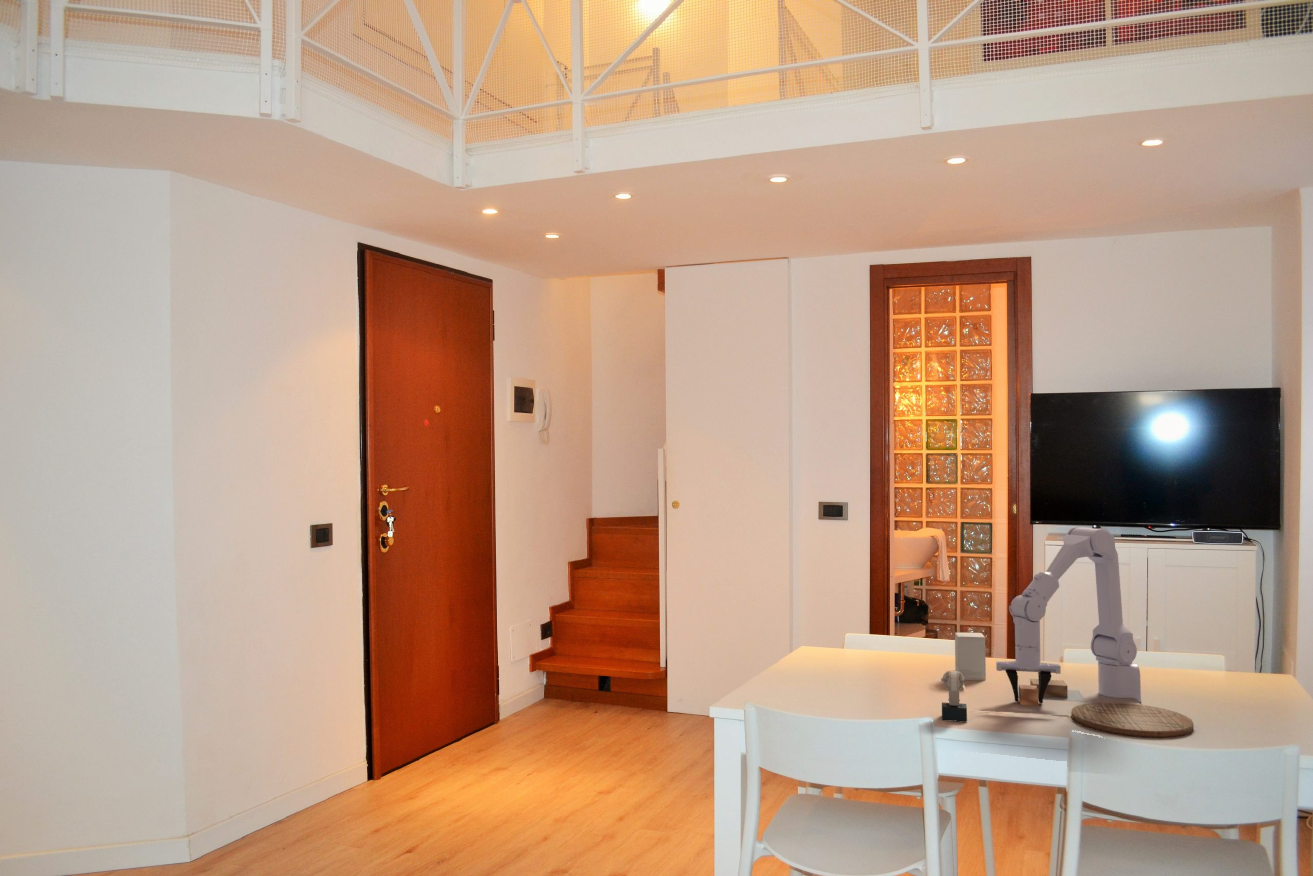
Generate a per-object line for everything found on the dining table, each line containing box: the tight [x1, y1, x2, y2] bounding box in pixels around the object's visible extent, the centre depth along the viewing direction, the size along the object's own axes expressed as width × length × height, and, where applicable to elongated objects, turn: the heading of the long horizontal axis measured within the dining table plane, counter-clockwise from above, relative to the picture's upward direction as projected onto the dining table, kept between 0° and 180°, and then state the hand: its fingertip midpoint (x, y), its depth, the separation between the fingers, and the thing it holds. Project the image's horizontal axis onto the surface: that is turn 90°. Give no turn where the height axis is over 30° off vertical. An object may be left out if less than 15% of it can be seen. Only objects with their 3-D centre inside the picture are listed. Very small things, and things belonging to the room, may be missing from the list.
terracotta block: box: [1018, 684, 1039, 707], centre depth 234 cm, size 4×4×5 cm
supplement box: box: [954, 632, 987, 681], centre depth 263 cm, size 7×7×13 cm
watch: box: [940, 670, 968, 722], centre depth 224 cm, size 6×8×11 cm
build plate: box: [1018, 686, 1088, 703], centre depth 243 cm, size 16×12×1 cm
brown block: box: [1029, 678, 1068, 698], centre depth 243 cm, size 8×6×3 cm
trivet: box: [1071, 701, 1194, 739], centre depth 219 cm, size 25×25×2 cm
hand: (1028, 701), depth 234 cm, fingers open, 5 cm apart
